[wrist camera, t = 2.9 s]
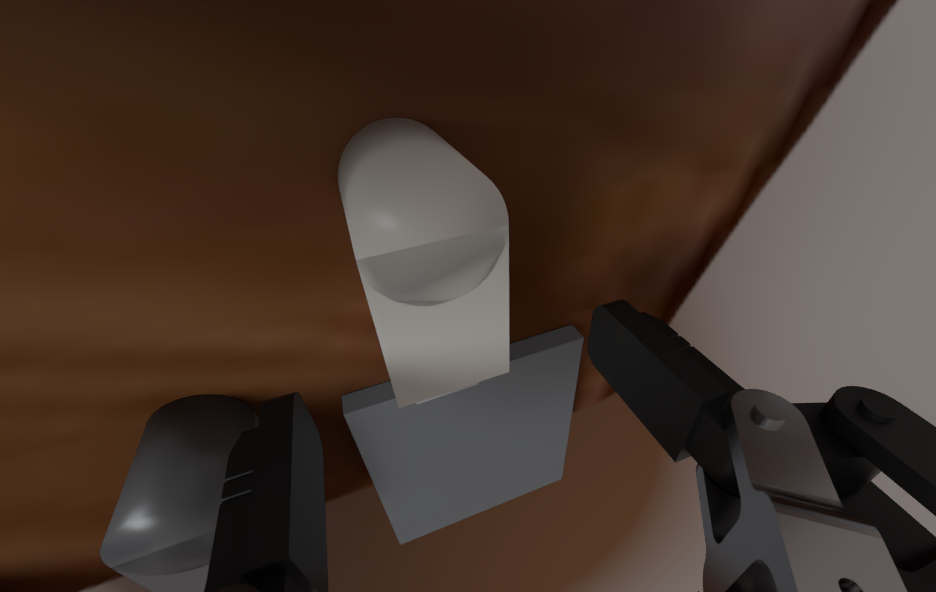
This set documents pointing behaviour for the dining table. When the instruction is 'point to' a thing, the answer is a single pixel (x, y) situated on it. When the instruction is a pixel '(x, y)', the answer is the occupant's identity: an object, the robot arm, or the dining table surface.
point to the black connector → (175, 493)
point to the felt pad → (470, 437)
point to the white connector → (428, 257)
